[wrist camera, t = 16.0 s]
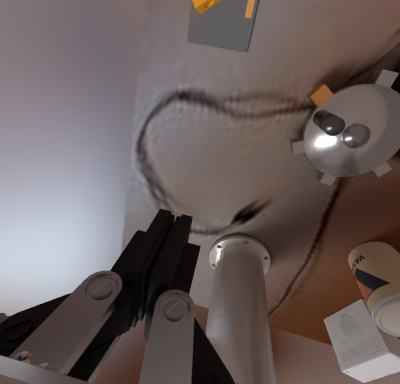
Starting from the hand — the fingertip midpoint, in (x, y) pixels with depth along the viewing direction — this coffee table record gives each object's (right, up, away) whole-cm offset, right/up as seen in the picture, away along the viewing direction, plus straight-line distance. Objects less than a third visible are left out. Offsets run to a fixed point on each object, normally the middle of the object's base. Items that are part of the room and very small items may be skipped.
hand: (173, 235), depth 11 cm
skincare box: (+36, -25, +38) cm, 58 cm away
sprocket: (+22, +11, +19) cm, 31 cm away
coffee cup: (+33, -10, +30) cm, 46 cm away
